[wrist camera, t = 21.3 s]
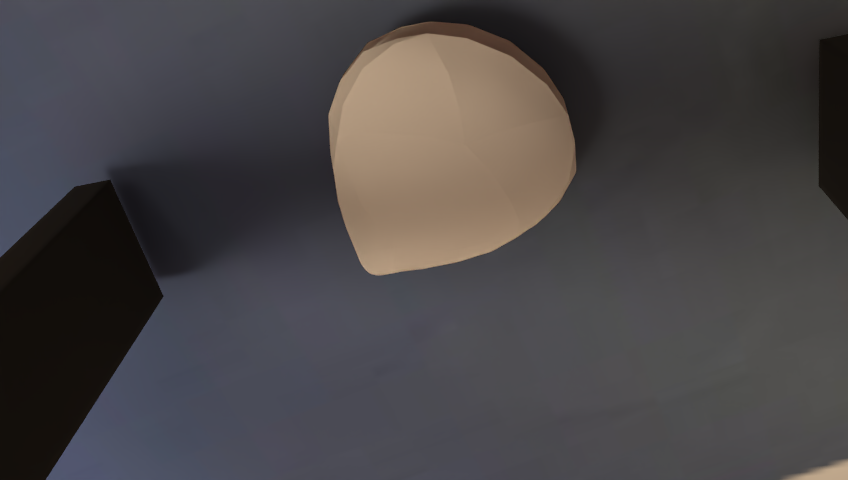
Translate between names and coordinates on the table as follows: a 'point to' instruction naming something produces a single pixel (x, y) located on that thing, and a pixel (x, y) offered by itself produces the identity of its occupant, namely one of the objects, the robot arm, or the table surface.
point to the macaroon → (445, 146)
